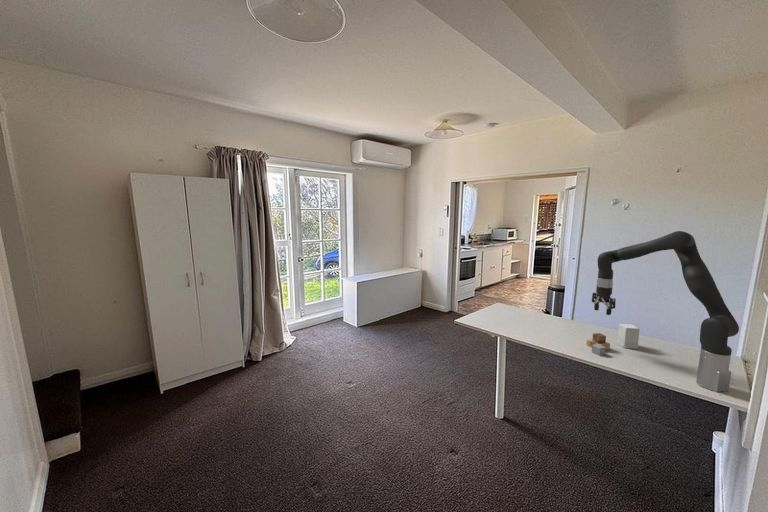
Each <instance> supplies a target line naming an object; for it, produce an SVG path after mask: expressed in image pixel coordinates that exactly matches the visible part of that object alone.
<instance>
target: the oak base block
mask: <svg viewBox="0 0 768 512" xmlns="http://www.w3.org/2000/svg"><path fill="white" fill-rule="evenodd" d="M592 339H593V338H591V339H587V340H586V347H589V348H591V349H592V345H595V344H598V343H596V342H594V341H592ZM599 345H601V346H604V347H606V348H605V351H608V350H610V347H611V343H610V342H607V341H606V342H605V343H601V344H599Z"/></svg>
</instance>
